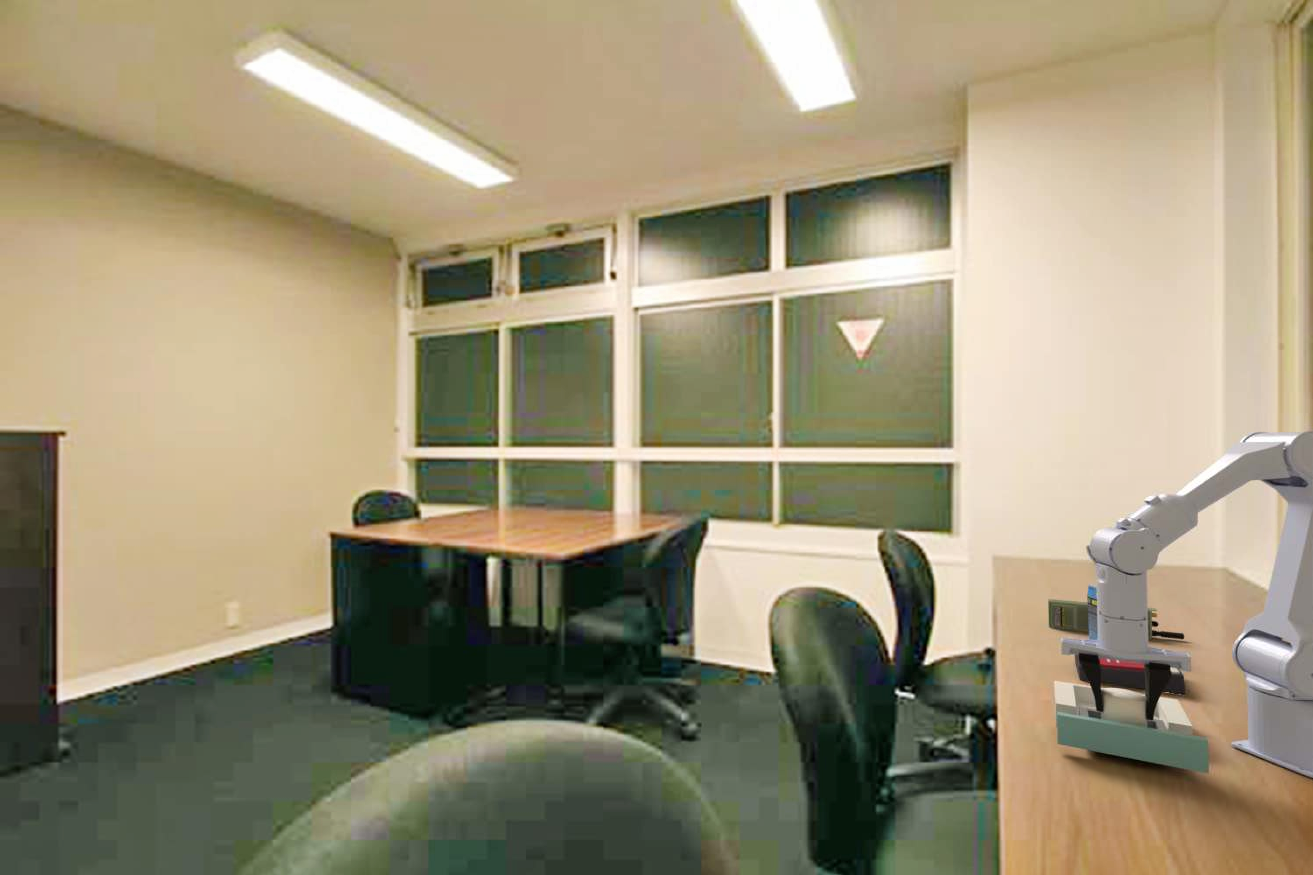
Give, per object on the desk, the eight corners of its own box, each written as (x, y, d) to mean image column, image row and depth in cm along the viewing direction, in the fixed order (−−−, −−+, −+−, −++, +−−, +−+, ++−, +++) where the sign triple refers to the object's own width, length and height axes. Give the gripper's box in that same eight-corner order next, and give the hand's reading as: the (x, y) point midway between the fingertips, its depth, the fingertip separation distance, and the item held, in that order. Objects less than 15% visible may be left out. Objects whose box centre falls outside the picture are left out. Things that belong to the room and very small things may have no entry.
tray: (1055, 715, 97) (1055, 688, 98) (1190, 739, 89) (1189, 709, 89) (1057, 744, 88) (1057, 714, 88) (1208, 774, 80) (1208, 741, 80)
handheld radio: (1048, 625, 152) (1182, 639, 140) (1049, 629, 149) (1185, 644, 137) (1048, 597, 152) (1181, 609, 140) (1048, 601, 149) (1185, 613, 137)
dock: (1054, 701, 105) (1054, 680, 106) (1178, 722, 97) (1177, 699, 97) (1056, 726, 96) (1055, 703, 96) (1193, 751, 88) (1192, 726, 88)
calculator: (1073, 645, 125) (1170, 652, 118) (1075, 667, 125) (1172, 676, 117) (1078, 661, 115) (1184, 670, 108) (1080, 685, 115) (1186, 696, 108)
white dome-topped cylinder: (1157, 729, 87) (1156, 699, 87) (1126, 733, 86) (1126, 703, 86) (1120, 714, 92) (1120, 686, 92) (1091, 717, 91) (1091, 689, 91)
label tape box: (1135, 653, 130) (1134, 593, 130) (1115, 653, 130) (1114, 593, 130) (1105, 640, 139) (1104, 584, 139) (1086, 640, 139) (1085, 584, 139)
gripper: (1183, 615, 89) (1185, 713, 88) (1059, 602, 96) (1061, 693, 96) (1193, 627, 83) (1196, 733, 82) (1061, 613, 90) (1063, 710, 90)
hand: (1124, 713), depth 89 cm, fingers closed on white dome-topped cylinder, 5 cm apart
